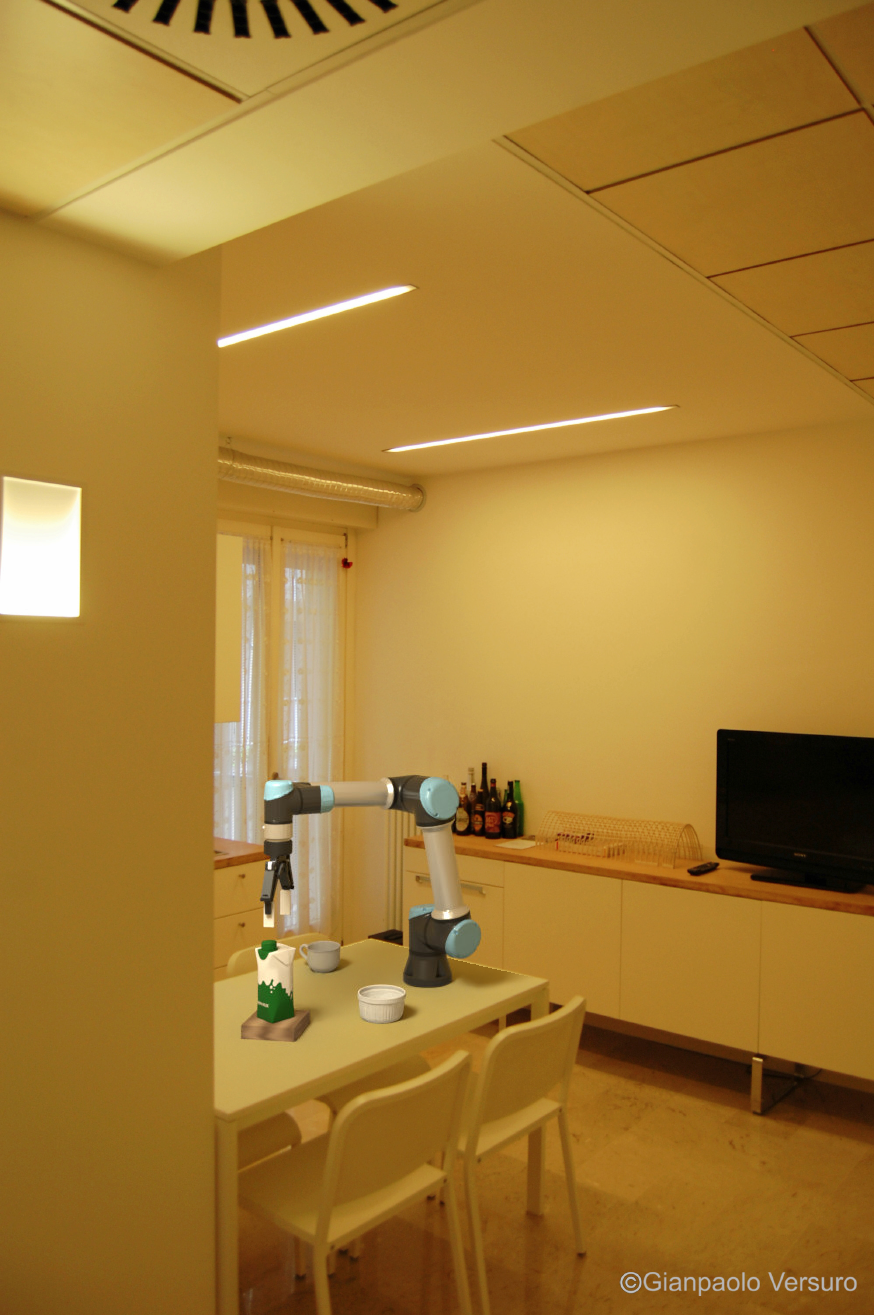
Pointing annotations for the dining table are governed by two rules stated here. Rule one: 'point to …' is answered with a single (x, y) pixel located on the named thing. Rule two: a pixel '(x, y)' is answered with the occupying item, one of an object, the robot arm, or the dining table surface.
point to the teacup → (322, 955)
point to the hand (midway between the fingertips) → (277, 920)
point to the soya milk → (275, 981)
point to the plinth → (275, 1027)
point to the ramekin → (381, 1003)
